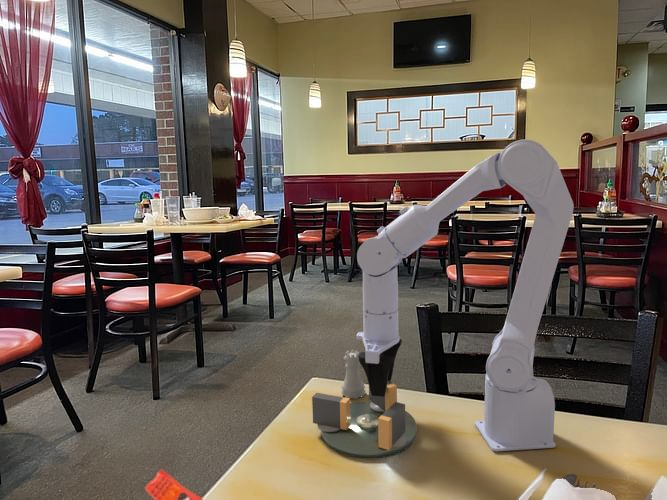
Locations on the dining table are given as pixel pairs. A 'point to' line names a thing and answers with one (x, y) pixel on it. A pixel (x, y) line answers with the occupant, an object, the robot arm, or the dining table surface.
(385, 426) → the knob
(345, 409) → the knob
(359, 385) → the rook chess piece
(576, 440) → the dining table surface
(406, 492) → the dining table surface
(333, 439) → the base plate
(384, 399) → the grey block
